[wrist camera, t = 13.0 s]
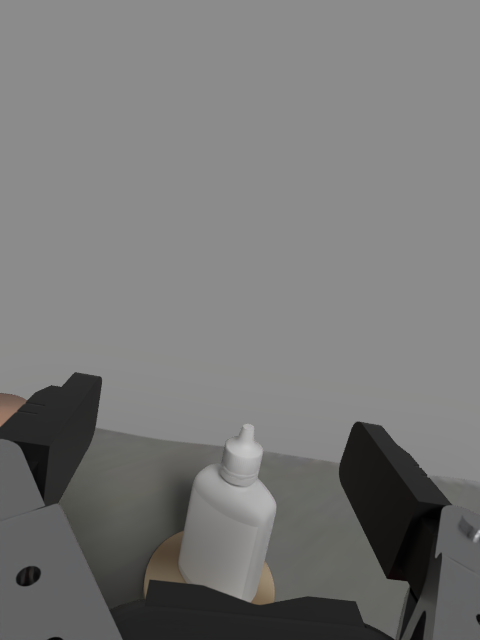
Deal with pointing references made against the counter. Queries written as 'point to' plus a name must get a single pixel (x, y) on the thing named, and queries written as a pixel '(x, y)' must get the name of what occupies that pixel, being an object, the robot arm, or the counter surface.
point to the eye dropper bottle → (229, 521)
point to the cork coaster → (167, 569)
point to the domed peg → (9, 406)
